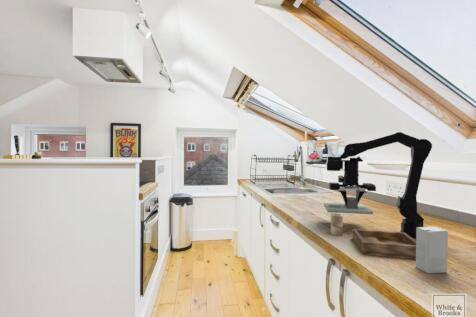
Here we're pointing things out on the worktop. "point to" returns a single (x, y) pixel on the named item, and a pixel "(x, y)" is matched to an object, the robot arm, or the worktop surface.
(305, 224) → the worktop surface
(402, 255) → the toolbox base
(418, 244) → the skincare box
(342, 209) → the toolbox lid
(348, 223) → the worktop surface
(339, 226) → the beige rectangular block
